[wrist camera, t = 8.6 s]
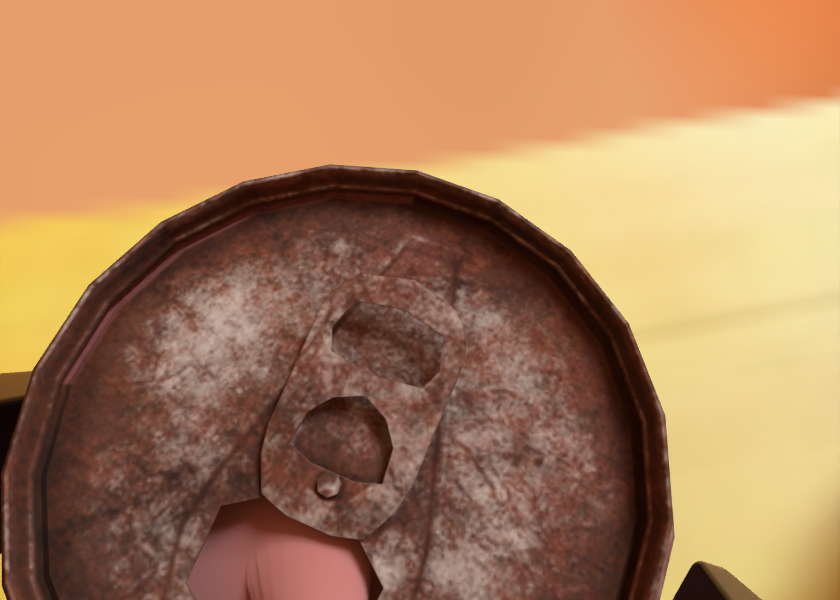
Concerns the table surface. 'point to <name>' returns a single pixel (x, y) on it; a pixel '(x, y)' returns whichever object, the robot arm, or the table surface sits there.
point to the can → (340, 411)
